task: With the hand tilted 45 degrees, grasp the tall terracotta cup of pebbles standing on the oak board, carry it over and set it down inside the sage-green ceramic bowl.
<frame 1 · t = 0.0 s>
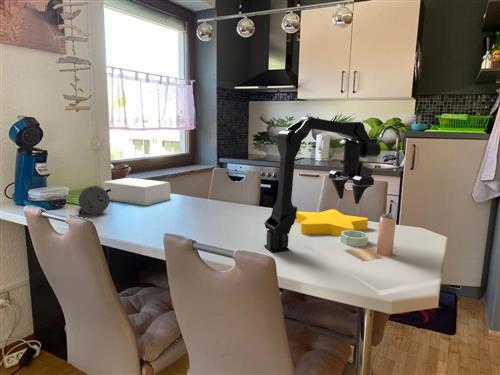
hand: (348, 201, 129), 15 cm above the table, tool pointing down, fingers open, 9 cm apart
box: (137, 199, 196), on the table
cup: (384, 253, 116), point 1 cm above the table, touching board
toy: (95, 212, 166), on the table
star: (330, 229, 147), on the table
bowl: (353, 244, 127), on the table
board: (370, 255, 116), on the table
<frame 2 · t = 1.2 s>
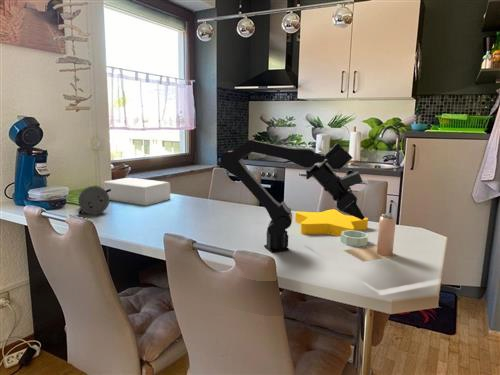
hand: (361, 215, 115), 13 cm above the table, tool tilted 45°, fingers open, 9 cm apart
nothing on the table moved.
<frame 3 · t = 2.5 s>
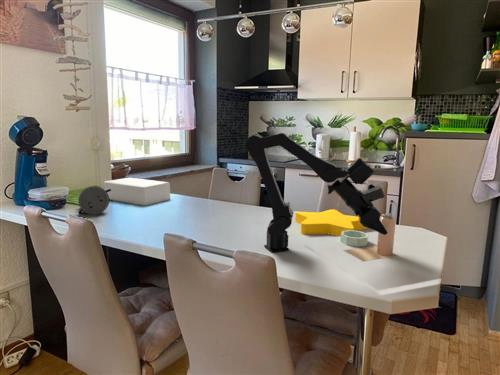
hand: (383, 229, 115), 9 cm above the table, tool tilted 45°, fingers open, 9 cm apart
nothing on the table moved.
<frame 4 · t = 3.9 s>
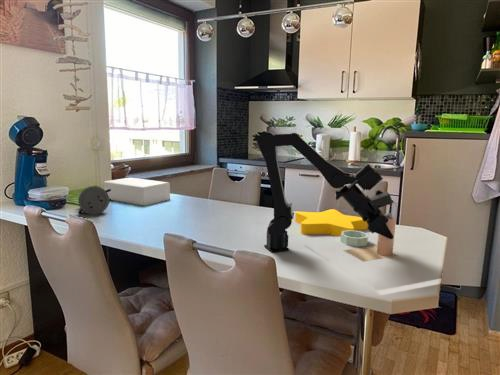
hand: (390, 235, 115), 7 cm above the table, tool tilted 45°, fingers closed on cup, 5 cm apart
cup: (384, 253, 116), point 1 cm above the table, touching board, gripper
everything else where it was.
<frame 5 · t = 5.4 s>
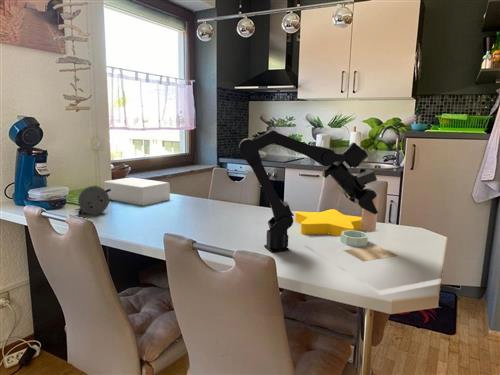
hand: (373, 211, 120), 13 cm above the table, tool tilted 45°, fingers closed on cup, 5 cm apart
cup: (368, 228, 121), point 7 cm above the table, touching gripper
everything else where it was.
when the fingers open (8 cm above the table, at t = 7.3 s): cup drops 1 cm, resting on bowl.
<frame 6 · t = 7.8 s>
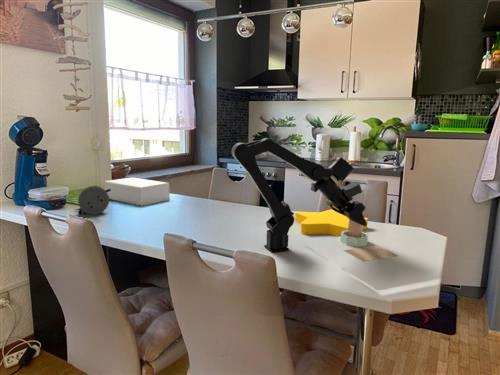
hand: (359, 221, 126), 8 cm above the table, tool tilted 45°, fingers open, 9 cm apart
cup: (353, 242, 127), point 1 cm above the table, touching bowl
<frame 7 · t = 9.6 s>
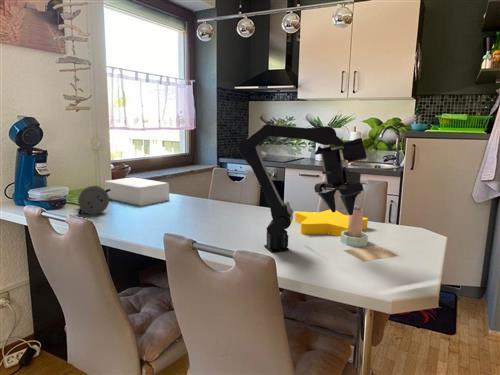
hand: (342, 213, 115), 14 cm above the table, tool pointing down, fingers open, 9 cm apart
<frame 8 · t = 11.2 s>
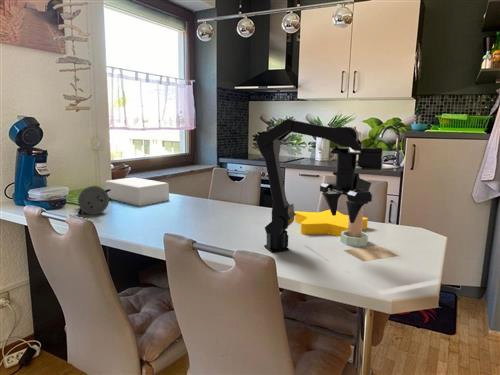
hand: (342, 219, 111), 13 cm above the table, tool pointing down, fingers open, 9 cm apart
at the end: cup 0.1 cm off-centre on the bowl, point 0.8 cm above the bowl's base; cup tilted 0°; the gripper is holding nothing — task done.
